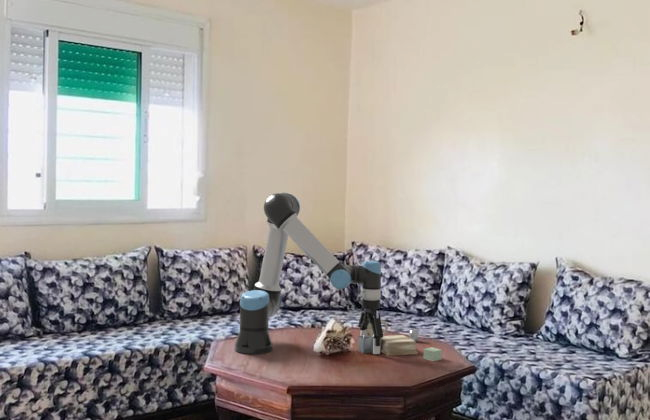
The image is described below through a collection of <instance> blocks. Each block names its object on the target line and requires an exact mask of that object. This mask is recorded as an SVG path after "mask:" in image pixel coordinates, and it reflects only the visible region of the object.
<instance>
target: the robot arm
mask: <svg viewBox="0 0 650 420" xmlns="http://www.w3.org/2000/svg"><path fill="white" fill-rule="evenodd" d="M300 210H301V205H300V201H299V200H298V198H297V197H296V196H294V194H290V193H288V192H281V193H273V194H270V195H269V196H268V197H267V198H266V199H265V201H264V205H263V211H264V214H265V216H266V217H267V220H266V223H267V224H268V226H269V230H268V232H267V233H268V234H267V239H266V244H265V248H264V249H265V250H264V254H263V260H262V264H261V269H260V274H259V279H258V281H257V282H255V283H254V287H253V289H252V290H248V291H244V292H243V293H242V294H241V296H240V301H239V333H238V335H237V337H236V340H235V343H234V350H235V351H236V352H237V353H239V354H241V353H242V354H248V355H261V354H266V353H269V352H271V351H272V350H273V343H272V340H271V336H270V333H269V318H270V317H273V316H274V315H276V313H278V312H279V310H280V308H281V307H282V296H281V294H282V287H281V285H280V279H281V274H282V271H283V265H284V260H285V255H286V249H287V246H288V239H289V238H290V239H291V240H292V241H293V242H294V243H295V244H296V245H297V246H298V247H299V248H300V250H302V252H303V253H304V254H306V256H307V257H308V258H309V259H310V260H311V261H312V262H313V263H314V264H315V266H317V267H318V268H319V270H321V272H323V273H324V274H325V275H326V277H328V279H329V280H330V283H331V285H332V287H333V288H335V289H338V290H343V289H346V288H348V287H349V286H350V284H355V285H356V284H358V285H359V284H360V285H361V286H362V290H361V294H362V297H361V298H362V299H361V312H360V316H359V322H358V326H357V327H358V328H359V330H360V335H359V336H363V335H367V326H368V324H369V322H370V324H371V326H372V329H373V333H374V337H373V353H372V354H373V355H380V354H381V352H380V338H382V337H383V336H384V335H383V332H384V331H383V325H382V324H381V321H382V320H381V312H378V311H377V310H379V309H380V308H381V295H382V294H381V292H382V291H381V286H382V284H381V282H382V281H381V280H382V264H381V262H379V261H378V260H364V261H363V262H362V265H354V264H344V263H343V264H342V263H341V262H340V260H338V258H336V256H335V255H333V254H332V252H331V251H330V250H329V249H328V248H327V247H326V246H325V245H324V244H323V243H322V242H321V241H320V240H319V238H317V237H316V236H315V234H314V233H312V231H311V230H310V229H308V227H307V226H306V225H305V224H304V223H303V222H302V221H301V220H300V219H299V218H298V215H299V213H300Z"/></svg>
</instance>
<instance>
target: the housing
mask: <svg viewBox="0 0 650 420" xmlns="http://www.w3.org/2000/svg"><path fill="white" fill-rule="evenodd" d="M373 337H374V334H373V335H370V336H367V335H363V336H360V335H359V336H358V343H357V347H358V348H357V351H359V352H360V353H362V354H373ZM380 353H382V352H381V338H380Z"/></svg>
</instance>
